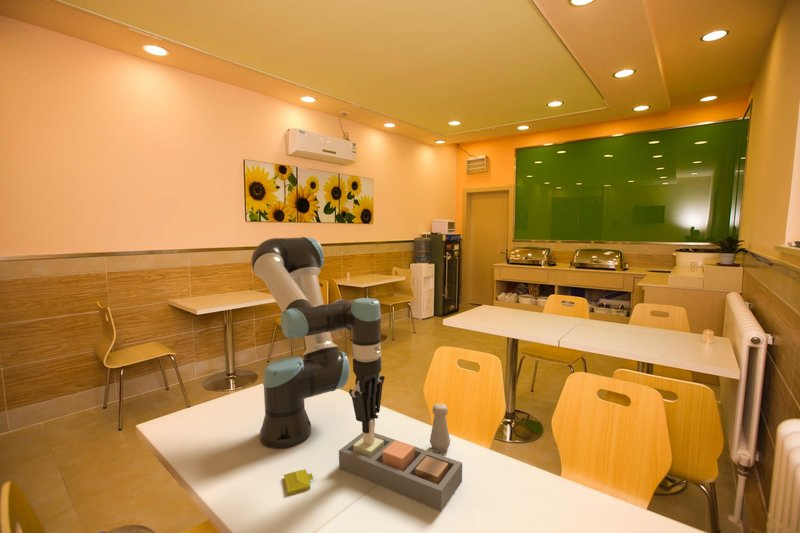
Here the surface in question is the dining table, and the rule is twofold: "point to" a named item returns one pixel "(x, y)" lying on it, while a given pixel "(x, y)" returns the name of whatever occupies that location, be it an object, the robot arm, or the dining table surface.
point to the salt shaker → (440, 429)
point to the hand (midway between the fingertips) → (368, 441)
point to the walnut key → (432, 470)
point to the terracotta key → (398, 455)
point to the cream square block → (368, 447)
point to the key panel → (403, 474)
